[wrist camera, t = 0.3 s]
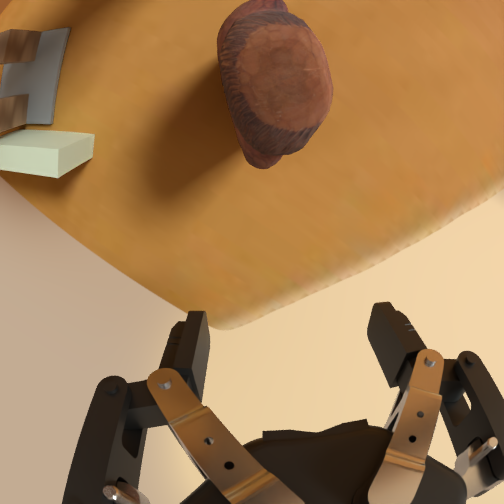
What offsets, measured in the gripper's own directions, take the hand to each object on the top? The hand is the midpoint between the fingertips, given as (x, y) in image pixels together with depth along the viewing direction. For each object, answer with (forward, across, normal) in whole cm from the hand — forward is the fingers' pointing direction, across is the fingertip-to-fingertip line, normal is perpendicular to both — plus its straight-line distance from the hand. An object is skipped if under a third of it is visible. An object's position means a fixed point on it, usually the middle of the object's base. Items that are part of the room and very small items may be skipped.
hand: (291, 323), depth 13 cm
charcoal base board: (+19, +30, -21) cm, 42 cm away
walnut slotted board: (+19, +30, -21) cm, 42 cm away
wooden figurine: (+21, 0, -14) cm, 25 cm away
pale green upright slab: (+20, +27, -11) cm, 36 cm away
